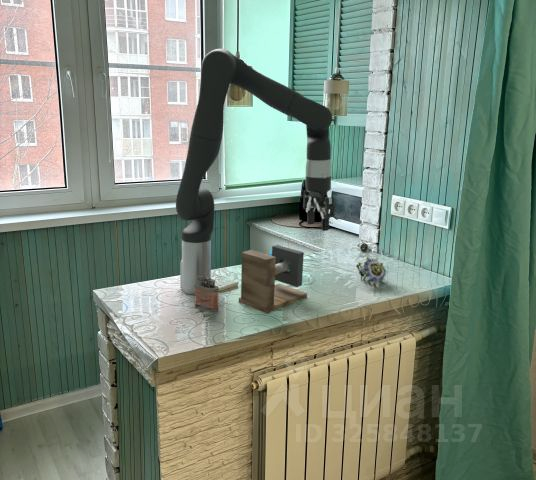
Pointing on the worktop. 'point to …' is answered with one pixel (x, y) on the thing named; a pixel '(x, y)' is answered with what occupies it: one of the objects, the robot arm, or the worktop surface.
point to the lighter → (206, 295)
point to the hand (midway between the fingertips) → (317, 227)
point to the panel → (296, 265)
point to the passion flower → (372, 271)
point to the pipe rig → (265, 283)
